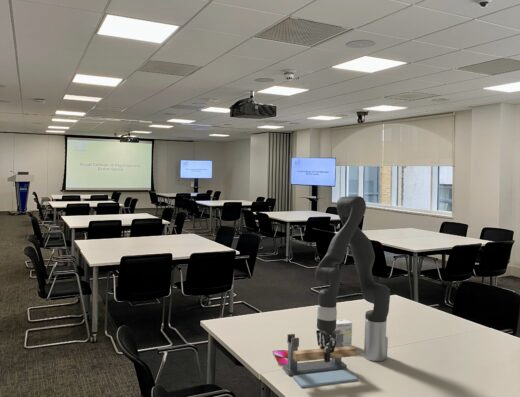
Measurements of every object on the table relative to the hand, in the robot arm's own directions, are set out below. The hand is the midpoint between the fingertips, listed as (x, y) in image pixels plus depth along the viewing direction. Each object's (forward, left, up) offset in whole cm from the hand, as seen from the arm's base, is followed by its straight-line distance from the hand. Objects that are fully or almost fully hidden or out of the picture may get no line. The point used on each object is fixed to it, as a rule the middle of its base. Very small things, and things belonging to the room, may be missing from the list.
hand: (325, 359), depth 173 cm
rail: (0, 0, +1) cm, 1 cm away
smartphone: (+9, -23, -8) cm, 26 cm away
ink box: (-23, -30, -8) cm, 39 cm away
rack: (0, -10, -8) cm, 13 cm away
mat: (0, 0, -8) cm, 8 cm away
